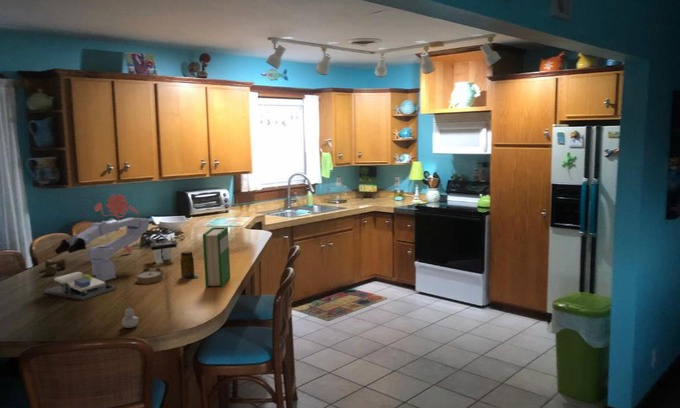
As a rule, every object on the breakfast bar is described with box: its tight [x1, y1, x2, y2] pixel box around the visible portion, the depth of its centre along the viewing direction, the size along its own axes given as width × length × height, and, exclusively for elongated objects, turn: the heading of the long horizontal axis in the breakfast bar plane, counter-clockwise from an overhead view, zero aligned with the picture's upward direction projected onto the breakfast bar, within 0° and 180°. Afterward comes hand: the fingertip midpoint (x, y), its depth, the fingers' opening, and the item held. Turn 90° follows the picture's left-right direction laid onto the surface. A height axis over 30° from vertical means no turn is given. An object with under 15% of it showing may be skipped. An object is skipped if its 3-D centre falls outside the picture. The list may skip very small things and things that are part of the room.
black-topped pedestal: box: [149, 236, 177, 264], centre depth 289 cm, size 28×26×13 cm
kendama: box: [44, 257, 68, 276], centre depth 274 cm, size 6×10×20 cm
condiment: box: [178, 251, 201, 280], centre depth 256 cm, size 7×8×12 cm
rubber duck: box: [121, 305, 139, 329], centre depth 190 cm, size 5×7×8 cm
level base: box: [44, 274, 117, 301], centre depth 236 cm, size 25×17×6 cm
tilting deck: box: [53, 271, 106, 292], centre depth 236 cm, size 18×12×3 cm, turn 62°
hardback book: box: [202, 226, 231, 289], centre depth 245 cm, size 18×7×24 cm, turn 0°
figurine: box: [94, 193, 140, 256], centre depth 311 cm, size 15×26×35 cm, turn 89°
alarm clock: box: [136, 267, 164, 285], centre depth 253 cm, size 11×5×15 cm
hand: (62, 251), depth 234 cm, fingers open, 7 cm apart
